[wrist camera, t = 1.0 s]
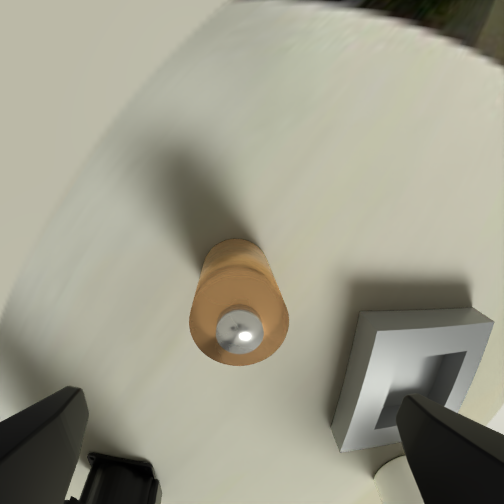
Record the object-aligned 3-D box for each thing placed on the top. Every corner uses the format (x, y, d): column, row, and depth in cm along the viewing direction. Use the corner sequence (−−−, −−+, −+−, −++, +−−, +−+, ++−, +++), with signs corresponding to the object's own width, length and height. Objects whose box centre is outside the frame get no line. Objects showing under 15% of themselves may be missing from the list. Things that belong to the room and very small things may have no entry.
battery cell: (202, 300, 20) (187, 373, 12) (203, 236, 19) (186, 281, 11) (265, 302, 20) (286, 376, 13) (271, 240, 19) (298, 286, 12)
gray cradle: (330, 427, 24) (339, 452, 21) (359, 311, 21) (377, 331, 18) (434, 410, 24) (448, 429, 22) (472, 307, 22) (494, 321, 19)
